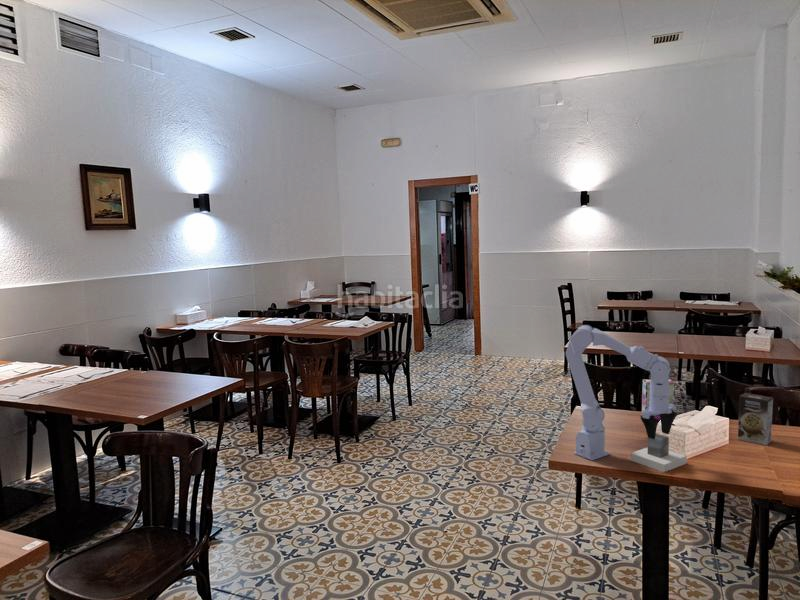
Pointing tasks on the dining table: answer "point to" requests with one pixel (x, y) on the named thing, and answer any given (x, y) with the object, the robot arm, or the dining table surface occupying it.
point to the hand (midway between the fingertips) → (658, 435)
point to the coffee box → (755, 418)
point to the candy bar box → (647, 395)
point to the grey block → (658, 446)
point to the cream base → (659, 460)
